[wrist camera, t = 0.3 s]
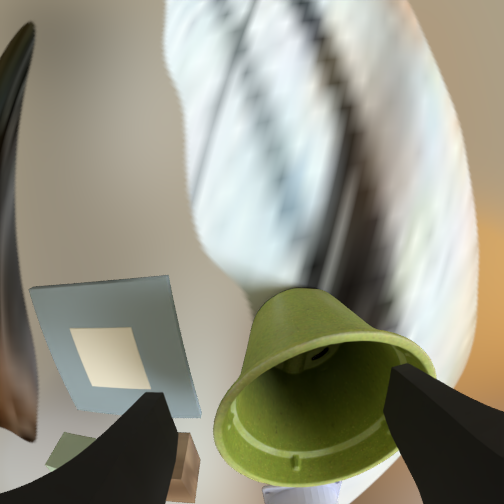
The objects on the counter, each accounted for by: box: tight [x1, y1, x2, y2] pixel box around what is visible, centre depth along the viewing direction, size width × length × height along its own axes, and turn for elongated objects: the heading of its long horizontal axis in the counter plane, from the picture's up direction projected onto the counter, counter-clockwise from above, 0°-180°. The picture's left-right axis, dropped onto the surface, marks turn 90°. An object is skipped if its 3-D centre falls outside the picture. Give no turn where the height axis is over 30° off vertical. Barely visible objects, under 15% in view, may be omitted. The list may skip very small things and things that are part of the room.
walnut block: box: [166, 432, 200, 503], centre depth 19 cm, size 4×4×5 cm
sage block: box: [45, 432, 96, 472], centre depth 19 cm, size 4×4×5 cm
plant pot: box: [213, 288, 436, 487], centre depth 14 cm, size 9×9×9 cm
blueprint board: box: [29, 275, 202, 418], centre depth 18 cm, size 11×11×1 cm
